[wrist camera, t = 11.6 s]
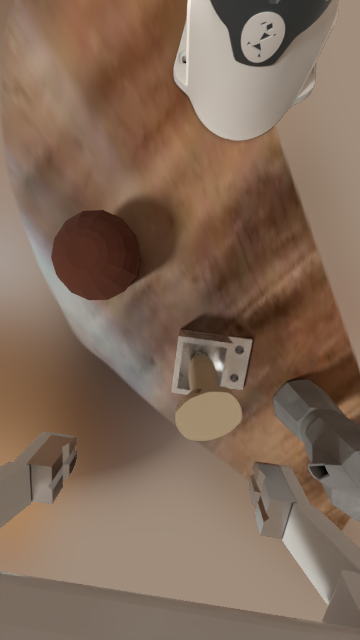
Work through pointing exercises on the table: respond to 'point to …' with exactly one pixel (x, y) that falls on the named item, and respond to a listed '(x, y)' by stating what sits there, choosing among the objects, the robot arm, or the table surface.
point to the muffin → (96, 255)
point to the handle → (206, 403)
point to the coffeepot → (324, 440)
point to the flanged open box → (212, 358)
